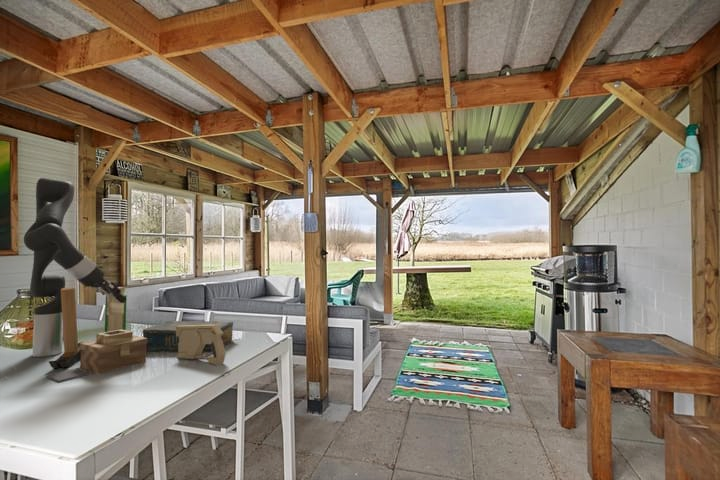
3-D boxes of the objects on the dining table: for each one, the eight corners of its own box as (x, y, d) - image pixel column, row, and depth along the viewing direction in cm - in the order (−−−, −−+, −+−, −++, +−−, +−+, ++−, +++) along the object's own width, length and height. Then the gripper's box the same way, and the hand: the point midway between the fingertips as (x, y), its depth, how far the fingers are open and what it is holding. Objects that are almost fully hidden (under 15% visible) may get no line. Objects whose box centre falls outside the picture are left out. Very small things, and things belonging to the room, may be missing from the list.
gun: (227, 363, 131) (225, 324, 132) (220, 366, 128) (218, 325, 129) (183, 361, 141) (181, 324, 142) (176, 363, 138) (174, 326, 139)
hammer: (66, 375, 125) (61, 296, 121) (49, 376, 123) (44, 296, 119) (90, 350, 144) (86, 281, 140) (75, 351, 142) (72, 281, 138)
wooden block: (106, 314, 130) (107, 288, 131) (118, 312, 134) (119, 287, 134) (112, 315, 128) (112, 288, 129) (123, 313, 132) (124, 287, 132)
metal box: (168, 340, 168) (169, 320, 168) (234, 341, 167) (234, 320, 167) (140, 353, 146) (140, 329, 147) (214, 353, 146) (215, 329, 146)
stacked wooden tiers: (78, 367, 127) (80, 334, 127) (127, 355, 141) (128, 326, 142) (98, 374, 119) (99, 339, 120) (147, 361, 134) (148, 330, 134)
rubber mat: (45, 377, 117) (46, 375, 117) (77, 369, 125) (77, 367, 125) (58, 382, 112) (58, 380, 112) (90, 374, 120) (90, 372, 120)
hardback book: (124, 350, 150) (126, 295, 151) (103, 352, 146) (105, 296, 147) (124, 341, 165) (126, 291, 166) (105, 343, 160) (107, 292, 161)
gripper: (103, 263, 122) (138, 294, 132) (85, 263, 129) (119, 292, 139) (85, 279, 117) (123, 310, 127) (67, 278, 124) (104, 307, 134)
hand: (121, 300), depth 133 cm, fingers closed on wooden block, 4 cm apart
